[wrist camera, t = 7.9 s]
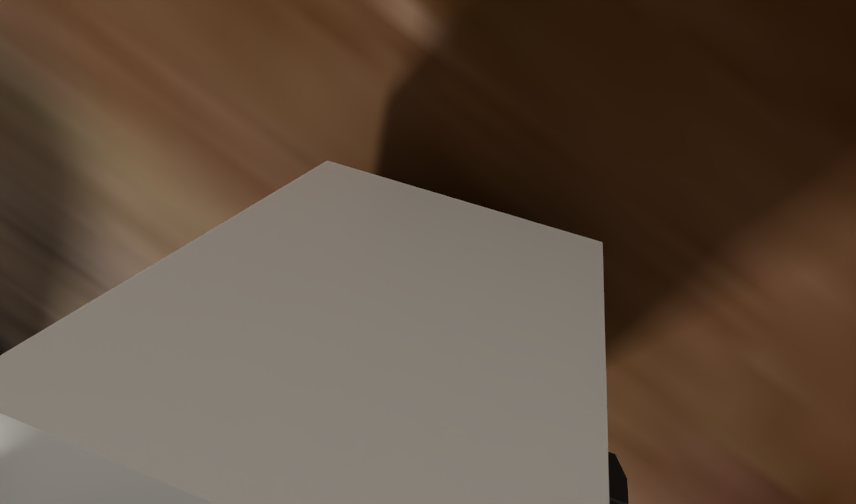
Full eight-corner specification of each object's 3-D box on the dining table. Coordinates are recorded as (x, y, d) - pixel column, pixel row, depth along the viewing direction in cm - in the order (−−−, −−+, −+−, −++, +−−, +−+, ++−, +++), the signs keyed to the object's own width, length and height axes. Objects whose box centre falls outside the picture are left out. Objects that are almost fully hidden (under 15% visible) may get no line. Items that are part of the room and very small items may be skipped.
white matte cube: (327, 160, 13) (-57, 389, 5) (602, 242, 12) (614, 674, 4) (303, 370, 16) (42, 700, 9) (519, 449, 15) (441, 907, 8)
